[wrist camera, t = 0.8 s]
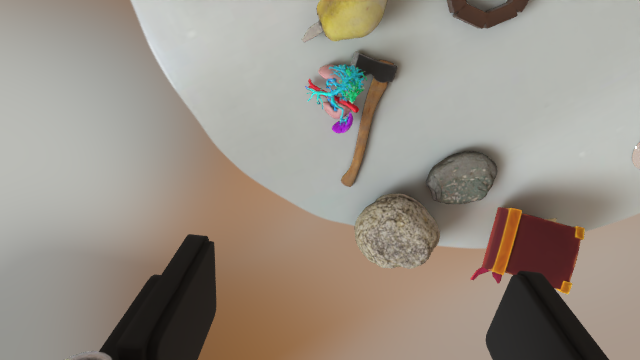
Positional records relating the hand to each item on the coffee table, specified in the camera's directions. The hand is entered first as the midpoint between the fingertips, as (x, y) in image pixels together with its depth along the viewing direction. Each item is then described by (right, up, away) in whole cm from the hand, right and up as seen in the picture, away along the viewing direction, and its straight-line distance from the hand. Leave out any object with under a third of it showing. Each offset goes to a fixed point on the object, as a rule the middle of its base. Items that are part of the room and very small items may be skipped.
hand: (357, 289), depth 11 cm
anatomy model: (-2, +15, +29) cm, 32 cm away
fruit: (+1, +21, +26) cm, 33 cm away
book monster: (+24, -6, +28) cm, 37 cm away
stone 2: (+17, +4, +30) cm, 34 cm away
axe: (+1, +10, +31) cm, 32 cm away
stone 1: (+12, -1, +32) cm, 34 cm away
